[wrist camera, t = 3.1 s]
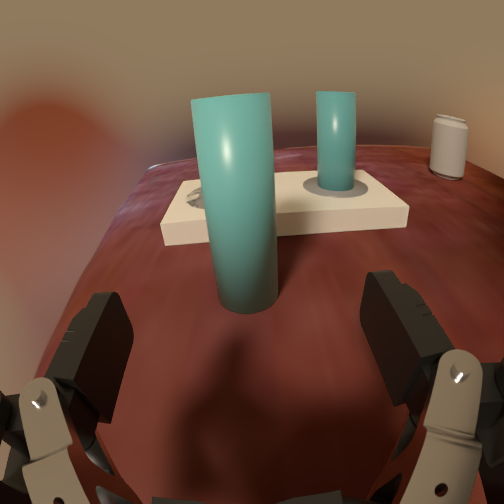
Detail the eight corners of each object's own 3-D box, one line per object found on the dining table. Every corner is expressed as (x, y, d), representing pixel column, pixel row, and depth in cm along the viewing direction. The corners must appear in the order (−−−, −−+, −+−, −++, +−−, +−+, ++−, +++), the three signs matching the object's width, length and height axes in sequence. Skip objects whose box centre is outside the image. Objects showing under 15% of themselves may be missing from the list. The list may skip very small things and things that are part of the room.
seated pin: (333, 196, 38) (334, 91, 31) (359, 206, 35) (363, 93, 28) (309, 204, 36) (307, 91, 29) (336, 215, 33) (337, 91, 26)
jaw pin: (256, 269, 25) (243, 93, 18) (290, 296, 22) (286, 92, 14) (208, 289, 23) (179, 101, 16) (238, 322, 20) (211, 97, 12)
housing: (185, 197, 42) (183, 180, 40) (361, 185, 42) (362, 168, 40) (165, 245, 30) (159, 222, 28) (406, 227, 30) (409, 205, 28)
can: (436, 178, 45) (442, 115, 39) (423, 167, 51) (427, 111, 45) (468, 183, 44) (475, 122, 37) (453, 171, 50) (458, 117, 44)
